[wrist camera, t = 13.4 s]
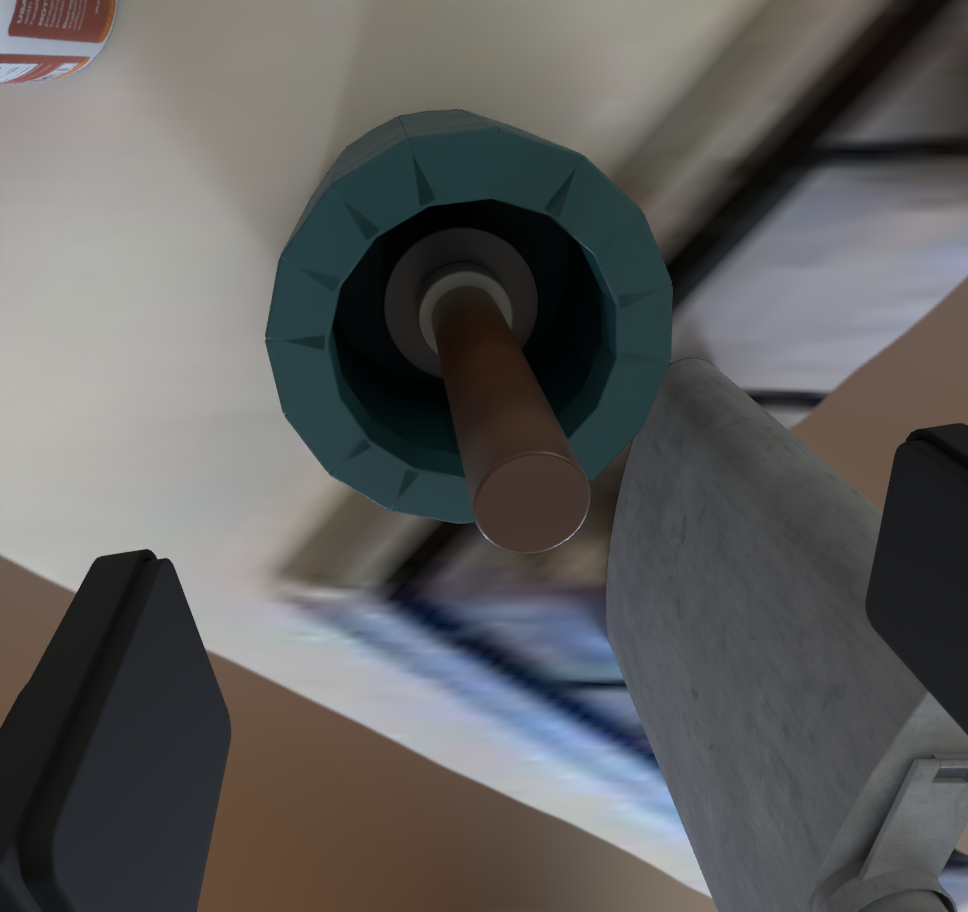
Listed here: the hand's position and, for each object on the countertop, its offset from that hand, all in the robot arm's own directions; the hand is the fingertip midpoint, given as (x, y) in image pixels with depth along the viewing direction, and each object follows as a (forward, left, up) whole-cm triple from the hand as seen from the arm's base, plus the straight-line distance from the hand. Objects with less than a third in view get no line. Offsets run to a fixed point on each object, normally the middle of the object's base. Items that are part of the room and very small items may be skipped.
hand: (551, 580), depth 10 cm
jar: (0, 0, -20) cm, 20 cm away
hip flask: (+13, +8, -20) cm, 26 cm away
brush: (+1, 0, -19) cm, 19 cm away
